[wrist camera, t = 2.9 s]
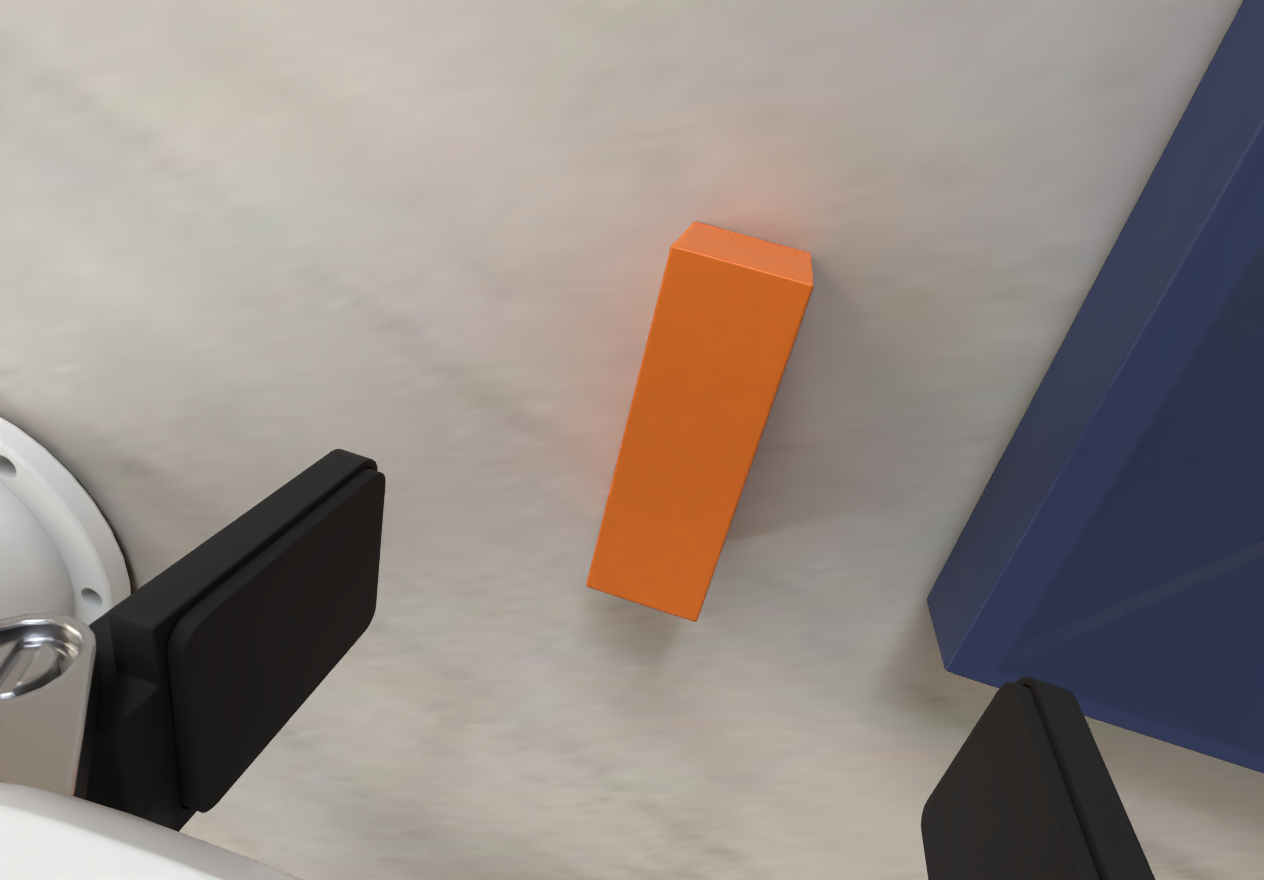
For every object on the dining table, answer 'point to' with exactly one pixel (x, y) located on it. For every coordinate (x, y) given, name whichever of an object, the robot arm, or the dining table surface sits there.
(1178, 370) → the book
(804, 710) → the dining table surface
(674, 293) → the long orange block
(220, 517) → the dining table surface
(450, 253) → the dining table surface
